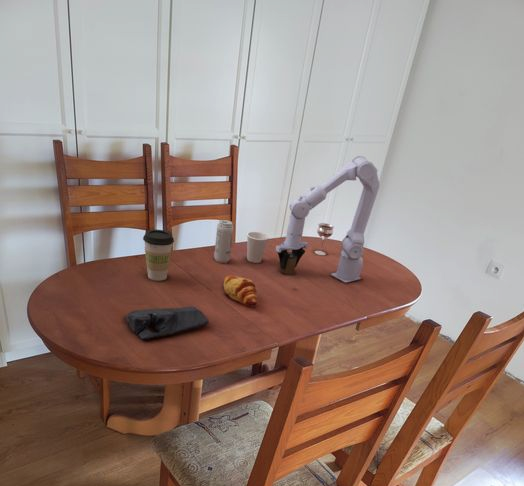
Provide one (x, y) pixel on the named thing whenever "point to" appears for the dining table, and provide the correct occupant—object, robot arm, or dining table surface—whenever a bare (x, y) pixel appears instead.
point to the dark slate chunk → (165, 321)
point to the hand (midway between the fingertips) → (288, 267)
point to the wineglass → (324, 234)
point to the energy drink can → (223, 241)
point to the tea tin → (290, 264)
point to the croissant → (241, 290)
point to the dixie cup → (256, 246)
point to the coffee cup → (158, 253)
